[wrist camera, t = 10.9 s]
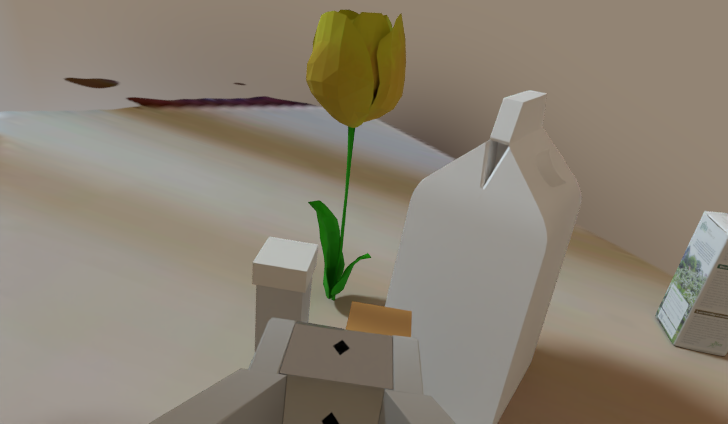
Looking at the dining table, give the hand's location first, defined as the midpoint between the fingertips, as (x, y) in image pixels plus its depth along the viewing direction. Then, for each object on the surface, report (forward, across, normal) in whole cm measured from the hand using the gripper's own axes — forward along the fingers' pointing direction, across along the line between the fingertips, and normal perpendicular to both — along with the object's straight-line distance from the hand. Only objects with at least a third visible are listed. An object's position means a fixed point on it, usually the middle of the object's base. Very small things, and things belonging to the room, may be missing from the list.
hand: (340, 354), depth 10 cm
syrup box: (+39, -39, +22) cm, 59 cm away
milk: (+29, -11, +23) cm, 38 cm away
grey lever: (+20, +4, +22) cm, 30 cm away
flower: (+37, +2, +22) cm, 43 cm away
